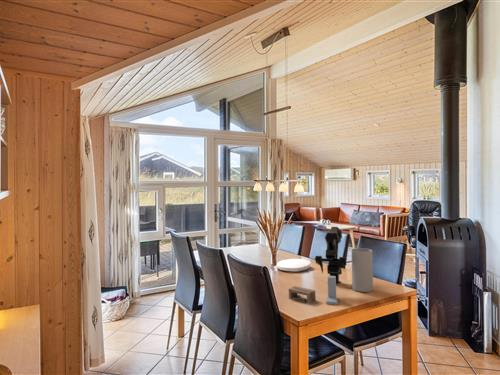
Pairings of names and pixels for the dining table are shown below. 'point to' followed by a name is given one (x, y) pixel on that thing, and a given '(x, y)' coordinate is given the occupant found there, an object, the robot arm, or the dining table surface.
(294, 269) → the plate
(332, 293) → the tall grey prism
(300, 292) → the brown hollow brick
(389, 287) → the dining table surface
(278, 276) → the dining table surface
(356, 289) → the cylinder vase
